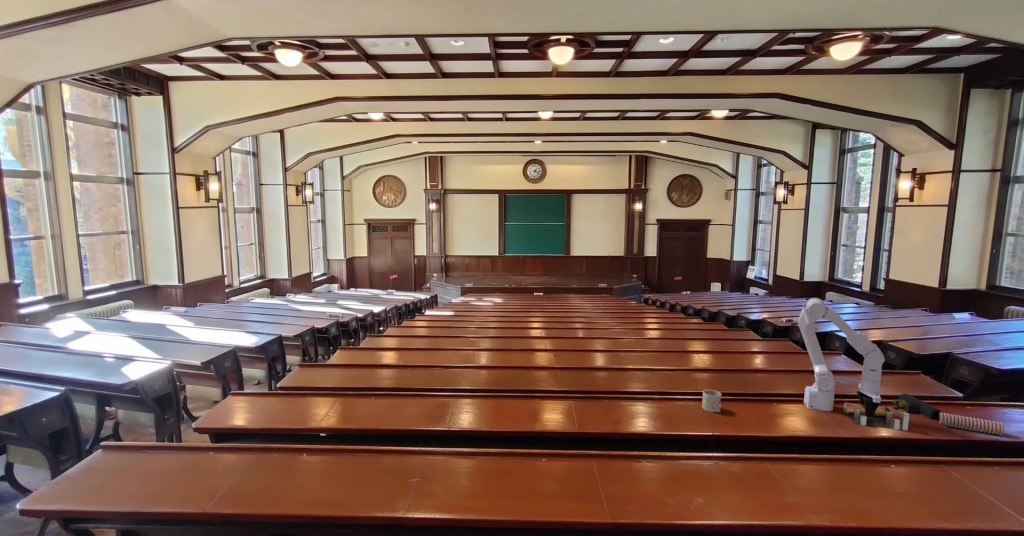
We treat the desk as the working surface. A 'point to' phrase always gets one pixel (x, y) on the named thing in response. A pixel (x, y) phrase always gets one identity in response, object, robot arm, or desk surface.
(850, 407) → the tube
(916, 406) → the pipe connector
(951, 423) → the coil
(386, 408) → the desk surface
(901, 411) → the aperture bracket
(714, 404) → the mug
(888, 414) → the small blocks
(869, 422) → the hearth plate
